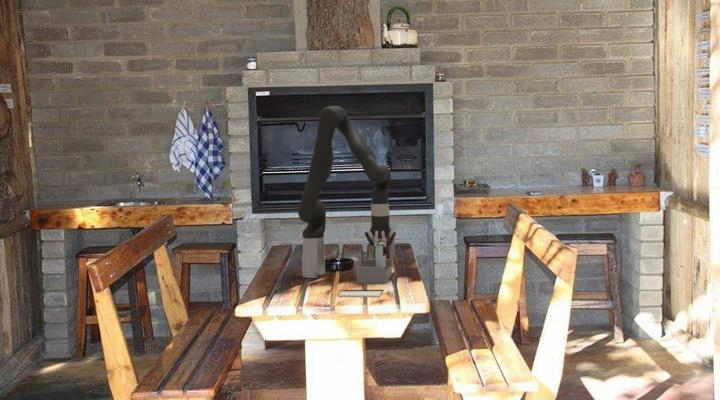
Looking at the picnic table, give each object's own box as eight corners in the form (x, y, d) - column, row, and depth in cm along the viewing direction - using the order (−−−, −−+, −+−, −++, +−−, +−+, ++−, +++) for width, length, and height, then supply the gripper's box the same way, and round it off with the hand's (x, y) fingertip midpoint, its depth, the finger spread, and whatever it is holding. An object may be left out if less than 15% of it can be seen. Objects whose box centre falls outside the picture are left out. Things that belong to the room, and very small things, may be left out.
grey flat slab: (375, 276, 367) (375, 247, 366) (380, 270, 380) (379, 242, 379) (381, 276, 367) (381, 247, 365) (385, 270, 380) (385, 242, 378)
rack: (356, 286, 366) (356, 267, 365) (363, 277, 384) (363, 259, 383) (386, 286, 364) (385, 267, 363) (391, 277, 382) (391, 259, 381)
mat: (338, 296, 348) (338, 295, 348) (345, 288, 362) (344, 287, 362) (379, 297, 346) (379, 295, 346) (384, 289, 359) (384, 287, 359)
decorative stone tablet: (384, 229, 386) (396, 225, 415) (369, 228, 387) (382, 225, 417) (384, 273, 386) (396, 266, 416) (370, 273, 388) (382, 266, 417)
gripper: (362, 215, 368) (362, 256, 370) (395, 215, 366) (396, 257, 368) (364, 212, 375) (365, 253, 377) (398, 213, 373) (398, 254, 375)
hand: (380, 255), depth 373 cm, fingers closed on grey flat slab, 2 cm apart
